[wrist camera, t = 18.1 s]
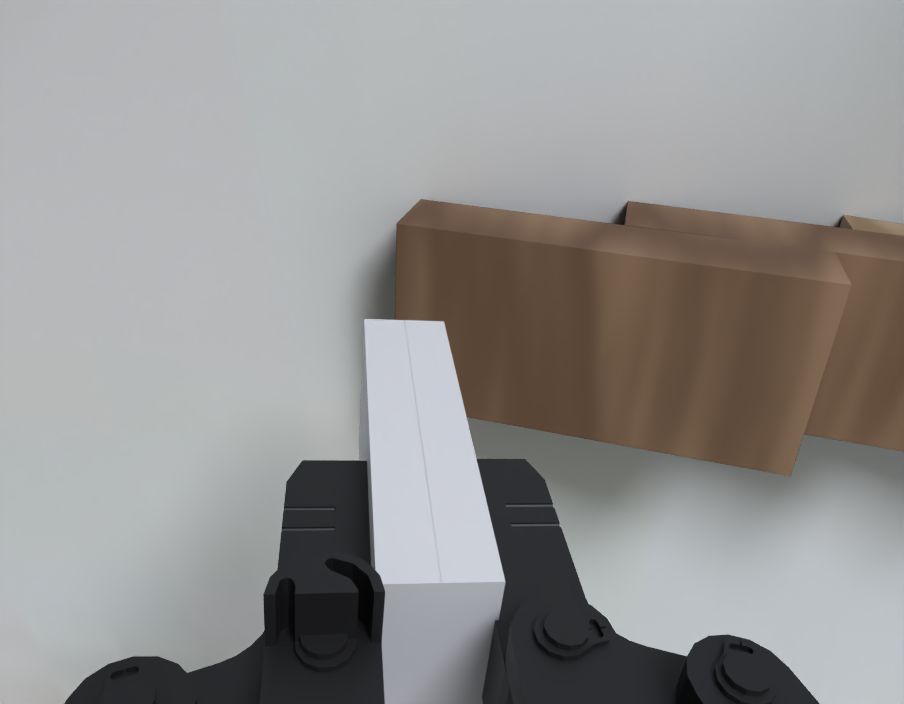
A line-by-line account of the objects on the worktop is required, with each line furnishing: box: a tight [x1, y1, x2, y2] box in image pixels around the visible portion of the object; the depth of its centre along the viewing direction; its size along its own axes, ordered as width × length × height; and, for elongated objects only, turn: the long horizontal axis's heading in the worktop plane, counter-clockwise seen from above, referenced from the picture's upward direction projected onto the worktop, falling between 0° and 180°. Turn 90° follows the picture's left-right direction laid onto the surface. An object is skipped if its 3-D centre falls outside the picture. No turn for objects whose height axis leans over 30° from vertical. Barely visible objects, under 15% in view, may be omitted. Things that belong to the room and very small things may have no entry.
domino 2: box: [624, 201, 904, 451], centre depth 20 cm, size 2×5×10 cm
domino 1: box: [395, 199, 852, 476], centre depth 19 cm, size 2×5×10 cm
